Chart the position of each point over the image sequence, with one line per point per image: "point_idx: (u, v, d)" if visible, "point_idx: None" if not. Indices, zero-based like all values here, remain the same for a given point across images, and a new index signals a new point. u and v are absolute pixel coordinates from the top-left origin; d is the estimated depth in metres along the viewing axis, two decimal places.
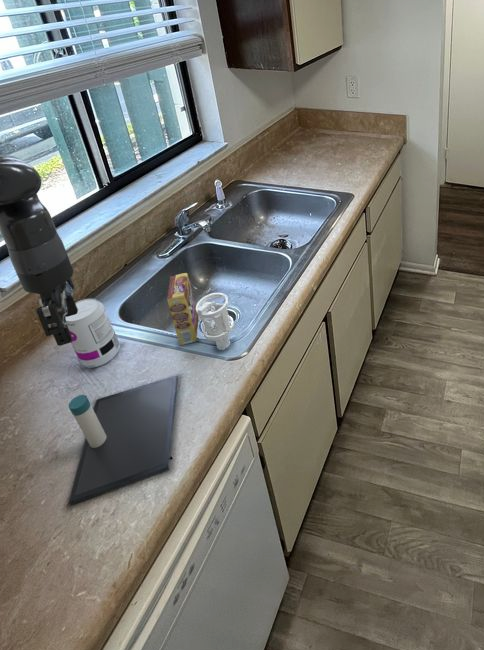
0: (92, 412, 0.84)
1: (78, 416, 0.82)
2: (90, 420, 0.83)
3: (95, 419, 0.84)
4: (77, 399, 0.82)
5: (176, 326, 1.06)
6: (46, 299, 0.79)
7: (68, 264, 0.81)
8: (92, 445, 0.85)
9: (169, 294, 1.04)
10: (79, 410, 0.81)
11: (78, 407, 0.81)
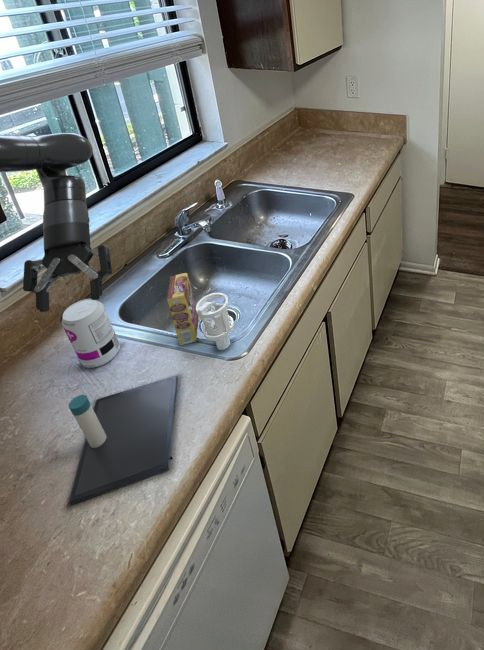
0: (92, 412, 0.84)
1: (78, 416, 0.82)
2: (90, 420, 0.83)
3: (95, 419, 0.84)
4: (77, 399, 0.82)
5: (176, 326, 1.06)
6: None
7: None
8: (92, 445, 0.85)
9: (169, 294, 1.04)
10: (79, 410, 0.81)
11: (78, 407, 0.81)
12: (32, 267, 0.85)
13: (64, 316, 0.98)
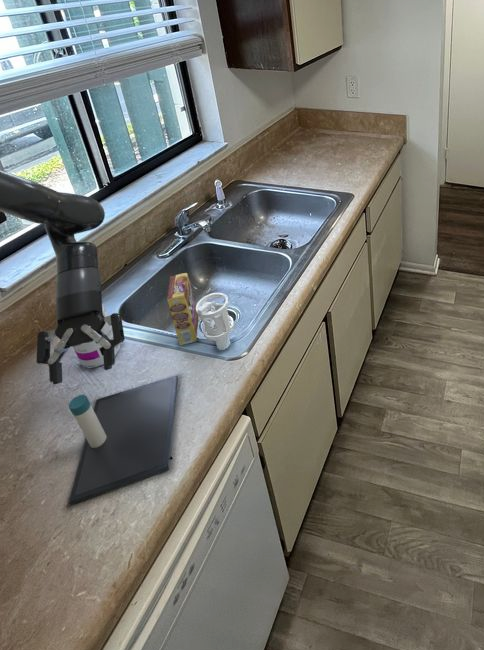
0: (92, 412, 0.84)
1: (78, 416, 0.82)
2: (90, 420, 0.83)
3: (95, 419, 0.84)
4: (77, 399, 0.82)
5: (176, 326, 1.06)
6: None
7: None
8: (92, 445, 0.85)
9: (169, 294, 1.04)
10: (79, 410, 0.81)
11: (78, 407, 0.81)
12: (45, 338, 0.86)
13: None
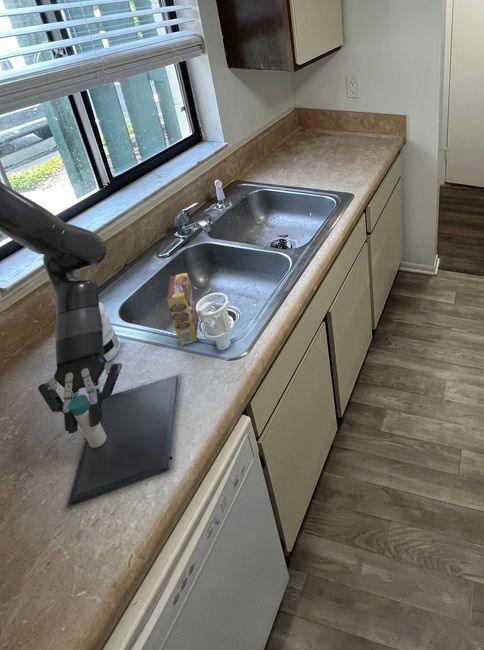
0: None
1: (78, 416, 0.82)
2: None
3: None
4: (77, 399, 0.82)
5: (176, 326, 1.06)
6: None
7: None
8: (92, 445, 0.85)
9: (169, 294, 1.04)
10: (79, 410, 0.81)
11: (78, 407, 0.81)
12: (49, 388, 0.82)
13: None
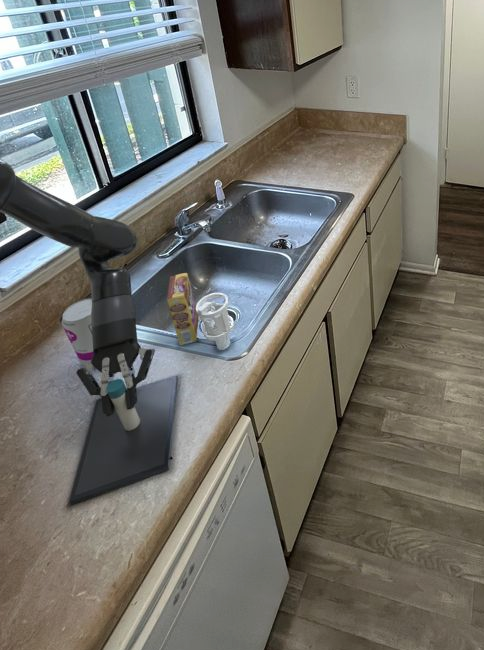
0: None
1: (115, 400, 0.84)
2: None
3: None
4: (114, 383, 0.85)
5: (176, 326, 1.06)
6: None
7: None
8: (127, 428, 0.88)
9: (169, 294, 1.04)
10: (116, 393, 0.84)
11: (115, 390, 0.84)
12: (86, 373, 0.85)
13: (64, 316, 0.98)
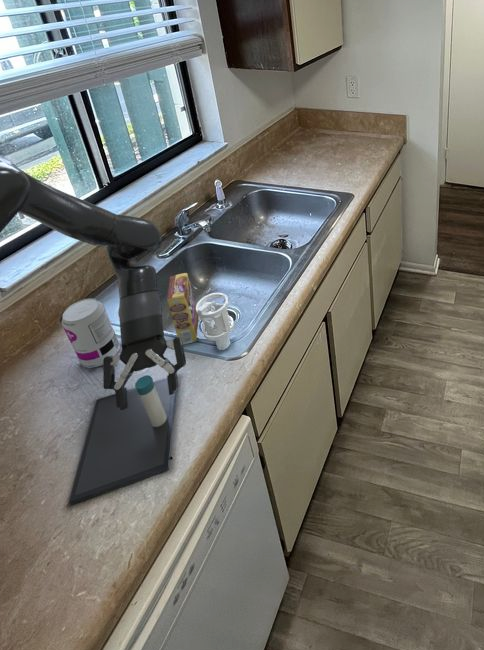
0: (156, 392, 0.87)
1: (144, 396, 0.85)
2: (154, 399, 0.87)
3: (158, 399, 0.88)
4: (142, 379, 0.86)
5: (176, 326, 1.06)
6: None
7: None
8: (154, 424, 0.89)
9: (169, 294, 1.04)
10: (145, 390, 0.85)
11: (144, 387, 0.84)
12: (111, 364, 0.86)
13: (64, 316, 0.98)
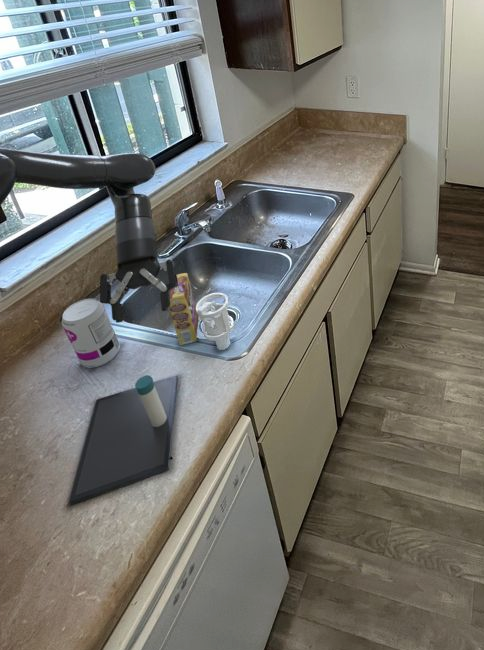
0: (156, 392, 0.87)
1: (144, 396, 0.85)
2: (154, 399, 0.87)
3: (158, 399, 0.88)
4: (142, 379, 0.86)
5: (176, 326, 1.06)
6: None
7: None
8: (154, 424, 0.89)
9: None
10: (145, 390, 0.85)
11: (144, 387, 0.84)
12: (107, 280, 0.91)
13: (64, 316, 0.98)
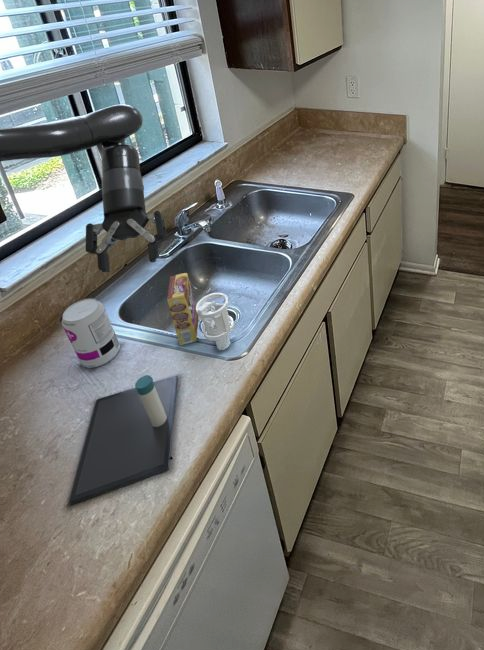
0: (156, 392, 0.87)
1: (144, 396, 0.85)
2: (154, 399, 0.87)
3: (158, 399, 0.88)
4: (142, 379, 0.86)
5: (176, 326, 1.06)
6: None
7: None
8: (154, 424, 0.89)
9: (169, 294, 1.04)
10: (145, 390, 0.85)
11: (144, 387, 0.84)
12: (93, 230, 0.89)
13: (64, 316, 0.98)
